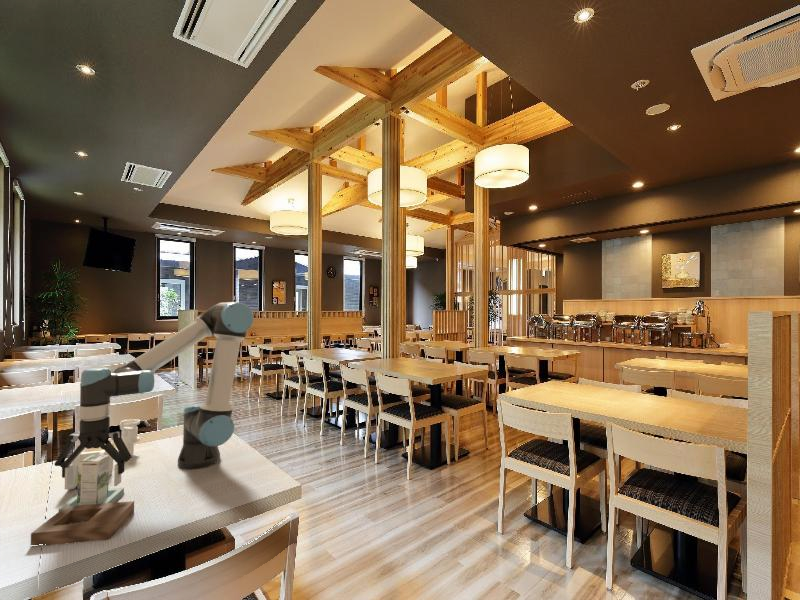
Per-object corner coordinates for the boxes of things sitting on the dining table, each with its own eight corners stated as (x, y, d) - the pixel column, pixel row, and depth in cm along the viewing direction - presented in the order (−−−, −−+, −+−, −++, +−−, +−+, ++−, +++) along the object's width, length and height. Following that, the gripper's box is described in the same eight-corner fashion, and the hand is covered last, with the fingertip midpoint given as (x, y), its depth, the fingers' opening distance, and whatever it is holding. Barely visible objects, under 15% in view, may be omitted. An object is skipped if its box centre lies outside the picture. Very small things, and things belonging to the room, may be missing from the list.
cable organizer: (102, 488, 135) (103, 454, 135) (63, 494, 130) (64, 458, 131) (113, 471, 148) (114, 440, 149) (78, 476, 144) (79, 444, 144)
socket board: (134, 512, 119) (134, 501, 119) (109, 539, 105) (109, 526, 105) (65, 518, 115) (65, 506, 115) (30, 546, 101) (31, 533, 102)
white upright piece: (114, 456, 163) (115, 420, 164) (132, 451, 170) (132, 416, 170) (126, 459, 161) (126, 422, 161) (143, 453, 167) (143, 417, 167)
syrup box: (89, 500, 126) (90, 454, 127) (108, 499, 127) (109, 454, 127) (76, 509, 121) (77, 461, 121) (96, 508, 121) (97, 461, 121)
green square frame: (123, 493, 131) (124, 487, 131) (104, 512, 119) (104, 505, 119) (82, 496, 128) (83, 490, 128) (58, 516, 117) (58, 509, 117)
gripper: (144, 412, 130) (142, 477, 130) (57, 416, 126) (55, 483, 125) (133, 419, 123) (131, 487, 122) (40, 423, 118) (39, 494, 118)
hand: (93, 485), depth 124 cm, fingers open, 13 cm apart
